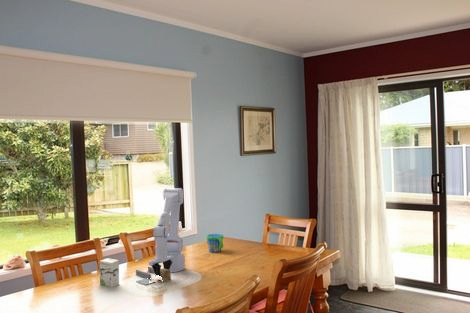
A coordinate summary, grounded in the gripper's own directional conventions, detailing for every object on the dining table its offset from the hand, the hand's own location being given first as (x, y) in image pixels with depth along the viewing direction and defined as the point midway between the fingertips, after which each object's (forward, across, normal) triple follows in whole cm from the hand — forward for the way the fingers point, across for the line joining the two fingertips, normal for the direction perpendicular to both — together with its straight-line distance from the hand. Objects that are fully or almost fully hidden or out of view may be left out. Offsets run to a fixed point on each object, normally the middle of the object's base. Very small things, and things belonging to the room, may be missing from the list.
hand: (162, 276), depth 209 cm
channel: (+2, 0, -11) cm, 11 cm away
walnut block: (+1, 0, +1) cm, 2 cm away
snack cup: (+2, -57, -18) cm, 60 cm away
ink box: (+2, +20, -15) cm, 25 cm away
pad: (+2, +7, -3) cm, 8 cm away
